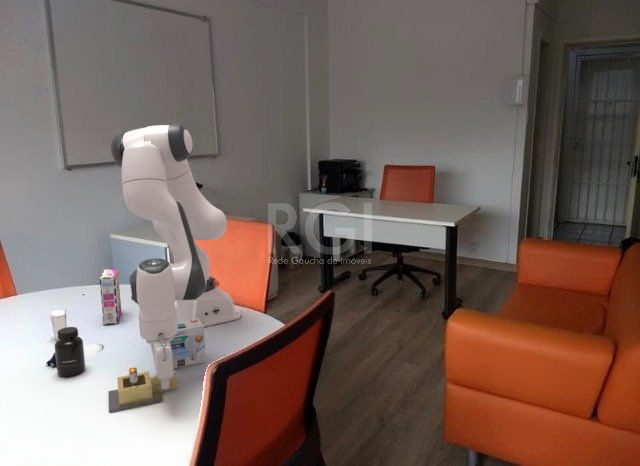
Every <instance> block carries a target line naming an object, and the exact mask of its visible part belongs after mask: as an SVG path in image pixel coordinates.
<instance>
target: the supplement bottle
mask: <svg viewBox="0 0 640 466" xmlns="http://www.w3.org/2000/svg"><path fill="white" fill-rule="evenodd" d="M78 331H79V330H78V328H77V327H75V326H67V327H66V328H62V329H60V330H58V339H59V340H56V341H55V343H54V351H55V352H54V353H55V355H56V363H55V364H56V372H57V375H58V376H59V377H61V378H69V377H70V378H71V377H75V376H78V375H81V374H82V373H83V372H84V371H85V370H86V362H85V361H86V360H85V359H86V358H85V347H84V341H83V339H82V337H80V336H79V332H78Z"/></svg>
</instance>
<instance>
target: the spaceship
mask: <svg viewBox="0 0 640 466" xmlns="http://www.w3.org/2000/svg"><path fill="white" fill-rule="evenodd" d="M55 364H56V355H55V352H54V353H53V355H52V356H51V358H50V359H49V360H48V361H46V365H47V366H48V368H51V367H52V368H54V365H55ZM46 365H45V366H46Z"/></svg>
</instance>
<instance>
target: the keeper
mask: <svg viewBox="0 0 640 466" xmlns="http://www.w3.org/2000/svg"><path fill="white" fill-rule="evenodd" d="M128 373H129V374H128V375H129V376H130V387H133V386H138V376H137V374H138V368H137V367H130V368H129V369H128ZM107 395H108V396H107V397H108V413H109V414H111V413H115V412H117V413H118V412H120V411H125V410H131V409H135V408H140V407H144V406H148V405H153V404H159V403H163V402H164V398H163V391H159V392H154V393H152V397H153V399H150V400H146V401H141V402H136V403H131V404H126V405H121V406H120V405H119V395H118V388H117V389H113V390H108V392H107Z"/></svg>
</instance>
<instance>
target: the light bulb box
mask: <svg viewBox="0 0 640 466" xmlns="http://www.w3.org/2000/svg"><path fill="white" fill-rule="evenodd" d="M205 342H206V340H205V327H204V326H203V325H202V323H201V322H200V320H199V319H194V320H188V321H183V322H178V332H177V334H176V335H174V336H173V339H172V340H171V341H170V345H171V349H172V357H173V367H174V369H178V368H183V367H188V366H193V365H199V364H202V363H206V362H207V361H206V360H207V359H206V343H205Z"/></svg>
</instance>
